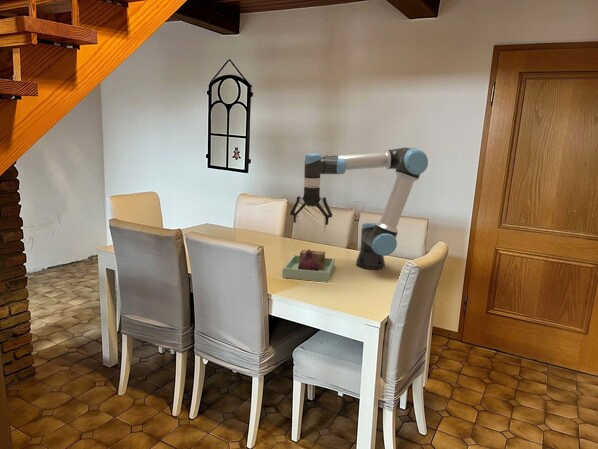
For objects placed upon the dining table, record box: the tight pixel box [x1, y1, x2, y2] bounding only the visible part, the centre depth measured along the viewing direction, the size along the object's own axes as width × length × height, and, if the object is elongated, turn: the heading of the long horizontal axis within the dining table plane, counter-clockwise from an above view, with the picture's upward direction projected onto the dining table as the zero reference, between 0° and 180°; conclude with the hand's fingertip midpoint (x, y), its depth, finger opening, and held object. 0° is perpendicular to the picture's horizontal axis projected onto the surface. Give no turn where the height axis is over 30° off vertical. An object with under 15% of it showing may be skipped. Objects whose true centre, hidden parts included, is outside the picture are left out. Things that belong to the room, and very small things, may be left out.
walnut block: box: [299, 249, 326, 270], centre depth 236 cm, size 12×6×8 cm, turn 78°
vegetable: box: [298, 248, 319, 271], centre depth 224 cm, size 10×10×15 cm
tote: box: [282, 254, 336, 284], centre depth 230 cm, size 22×24×5 cm
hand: (310, 230), depth 222 cm, fingers open, 13 cm apart
